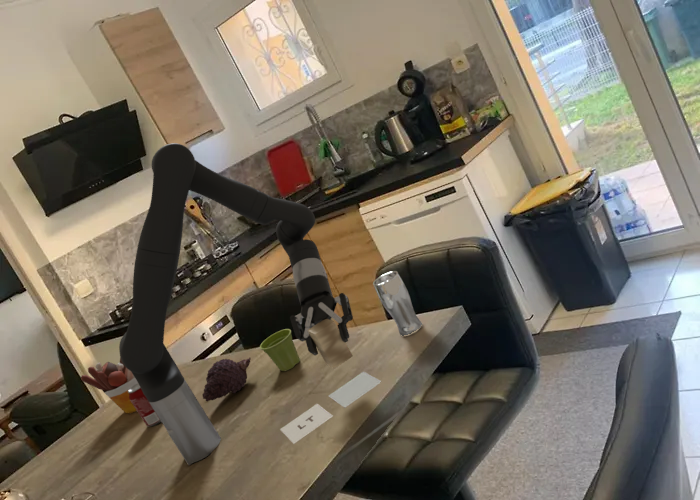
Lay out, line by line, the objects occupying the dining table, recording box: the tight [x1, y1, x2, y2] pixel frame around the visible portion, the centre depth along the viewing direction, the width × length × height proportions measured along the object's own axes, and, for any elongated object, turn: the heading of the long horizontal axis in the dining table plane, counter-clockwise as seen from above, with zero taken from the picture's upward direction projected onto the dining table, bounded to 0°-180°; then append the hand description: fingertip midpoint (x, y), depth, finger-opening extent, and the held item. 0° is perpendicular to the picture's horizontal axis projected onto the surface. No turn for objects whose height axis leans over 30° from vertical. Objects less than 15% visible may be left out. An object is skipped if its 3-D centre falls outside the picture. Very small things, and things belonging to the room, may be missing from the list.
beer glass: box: [372, 270, 423, 337], centre depth 162 cm, size 7×7×15 cm
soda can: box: [128, 383, 162, 427], centre depth 188 cm, size 7×7×12 cm
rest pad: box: [328, 371, 382, 408], centre depth 148 cm, size 10×10×1 cm
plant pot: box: [259, 328, 301, 372], centre depth 179 cm, size 9×9×9 cm
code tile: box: [279, 403, 334, 445], centre depth 143 cm, size 10×10×1 cm
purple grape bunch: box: [202, 357, 251, 403], centre depth 180 cm, size 18×10×10 cm, turn 140°
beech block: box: [307, 319, 354, 370], centre depth 145 cm, size 5×5×9 cm
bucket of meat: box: [80, 358, 138, 414], centre depth 208 cm, size 20×16×20 cm
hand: (330, 347), depth 143 cm, fingers closed on beech block, 7 cm apart
